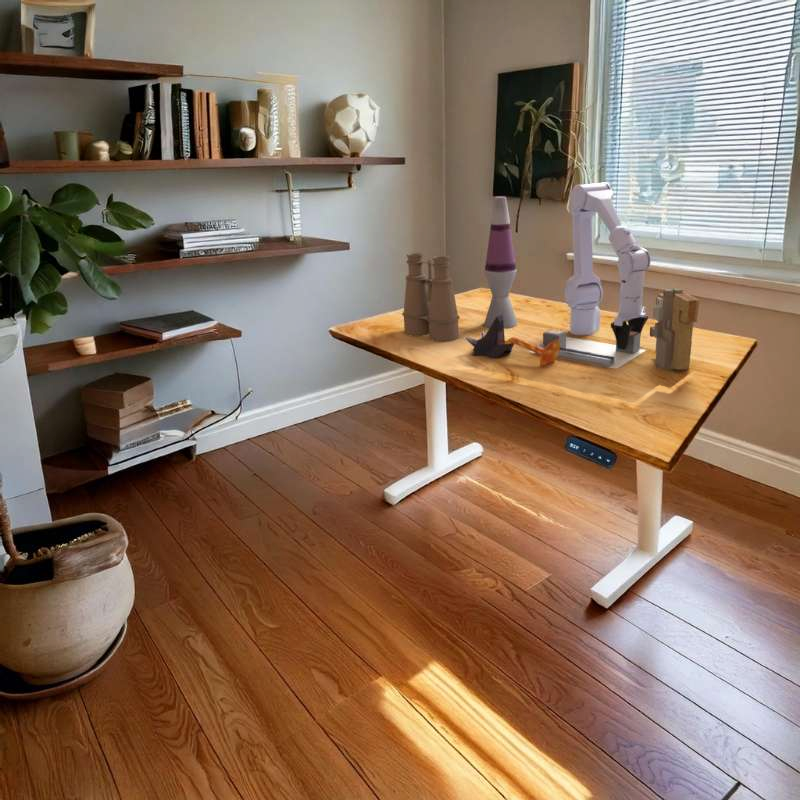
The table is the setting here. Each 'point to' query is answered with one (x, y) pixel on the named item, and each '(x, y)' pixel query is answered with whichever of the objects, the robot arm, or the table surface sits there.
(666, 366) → the toy
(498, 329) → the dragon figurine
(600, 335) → the table surface
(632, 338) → the block
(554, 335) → the mounted module
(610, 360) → the rail
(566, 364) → the table surface
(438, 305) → the binoculars
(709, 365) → the table surface
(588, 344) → the panel
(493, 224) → the lamp
